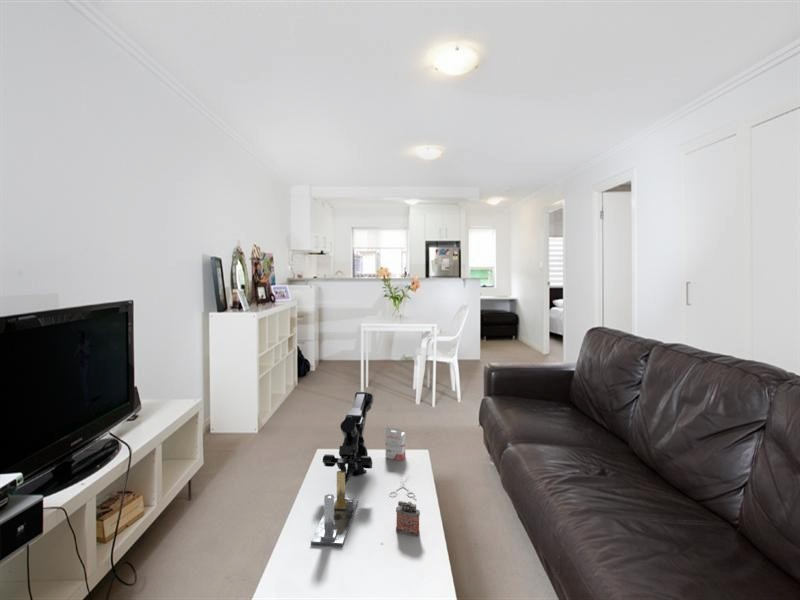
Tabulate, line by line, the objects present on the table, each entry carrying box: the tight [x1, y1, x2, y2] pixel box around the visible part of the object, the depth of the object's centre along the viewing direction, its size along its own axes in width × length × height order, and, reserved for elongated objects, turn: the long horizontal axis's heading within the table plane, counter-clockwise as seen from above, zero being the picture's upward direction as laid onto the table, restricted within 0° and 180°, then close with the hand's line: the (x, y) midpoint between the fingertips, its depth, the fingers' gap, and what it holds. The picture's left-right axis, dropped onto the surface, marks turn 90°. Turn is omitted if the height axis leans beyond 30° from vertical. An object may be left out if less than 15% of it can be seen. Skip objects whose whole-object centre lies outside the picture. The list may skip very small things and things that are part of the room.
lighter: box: [395, 500, 421, 538], centre depth 127 cm, size 8×3×10 cm, turn 71°
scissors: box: [388, 474, 417, 501], centre depth 157 cm, size 11×1×20 cm
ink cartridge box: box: [385, 426, 406, 461], centre depth 182 cm, size 9×5×15 cm, turn 68°
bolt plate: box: [310, 493, 359, 548], centre depth 133 cm, size 25×10×14 cm, turn 175°
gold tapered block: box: [334, 469, 348, 509], centre depth 139 cm, size 4×4×12 cm
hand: (344, 484), depth 144 cm, fingers closed
